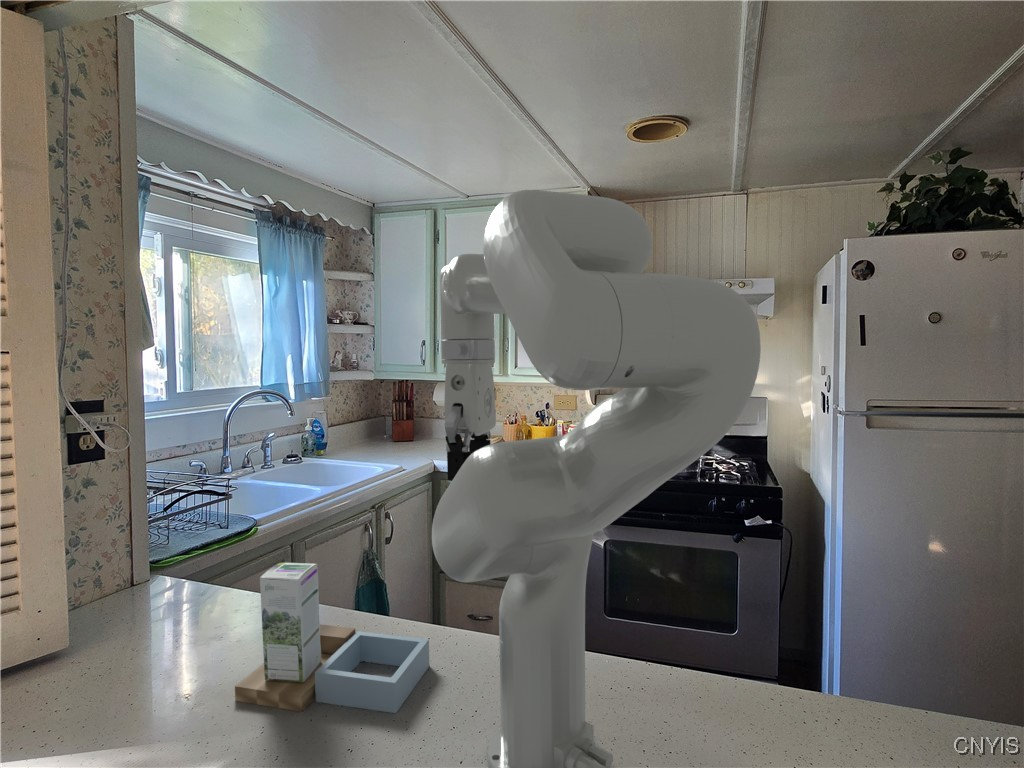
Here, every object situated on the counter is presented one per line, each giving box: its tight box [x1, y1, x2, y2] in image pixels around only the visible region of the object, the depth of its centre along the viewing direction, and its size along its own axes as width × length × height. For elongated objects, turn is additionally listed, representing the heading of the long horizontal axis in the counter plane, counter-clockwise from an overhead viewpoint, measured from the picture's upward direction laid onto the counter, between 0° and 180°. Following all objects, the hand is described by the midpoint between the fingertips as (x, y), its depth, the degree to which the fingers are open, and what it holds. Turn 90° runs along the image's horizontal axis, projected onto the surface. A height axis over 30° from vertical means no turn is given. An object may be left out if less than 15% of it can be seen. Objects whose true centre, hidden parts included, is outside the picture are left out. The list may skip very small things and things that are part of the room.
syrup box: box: [259, 562, 321, 682], centre depth 81 cm, size 6×6×14 cm
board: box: [234, 654, 332, 713], centre depth 82 cm, size 10×10×2 cm
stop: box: [319, 623, 356, 655], centre depth 88 cm, size 10×3×4 cm, turn 76°
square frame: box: [315, 630, 430, 714], centre depth 82 cm, size 11×11×4 cm
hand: (470, 473), depth 84 cm, fingers open, 9 cm apart
